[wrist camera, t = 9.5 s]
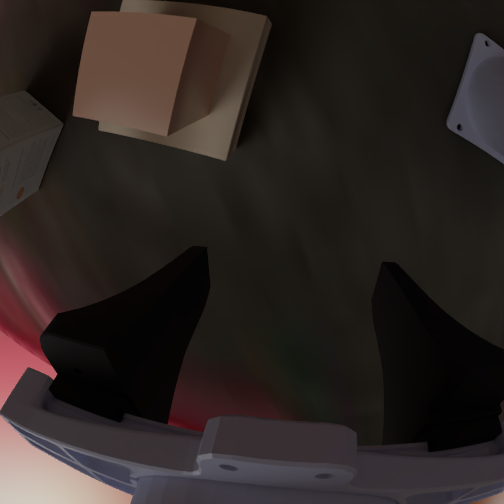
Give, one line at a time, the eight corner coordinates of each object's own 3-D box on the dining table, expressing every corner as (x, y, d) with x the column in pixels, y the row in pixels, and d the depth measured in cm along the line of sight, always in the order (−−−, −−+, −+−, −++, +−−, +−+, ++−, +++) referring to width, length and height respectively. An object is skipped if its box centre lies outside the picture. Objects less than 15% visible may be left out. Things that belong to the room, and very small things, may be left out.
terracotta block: (231, 34, 14) (197, 18, 9) (207, 115, 17) (166, 136, 12) (150, 22, 14) (91, 11, 9) (132, 98, 17) (72, 115, 12)
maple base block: (272, 25, 16) (267, 16, 13) (237, 147, 21) (225, 160, 18) (147, 7, 16) (122, 0, 13) (123, 120, 21) (98, 130, 18)
